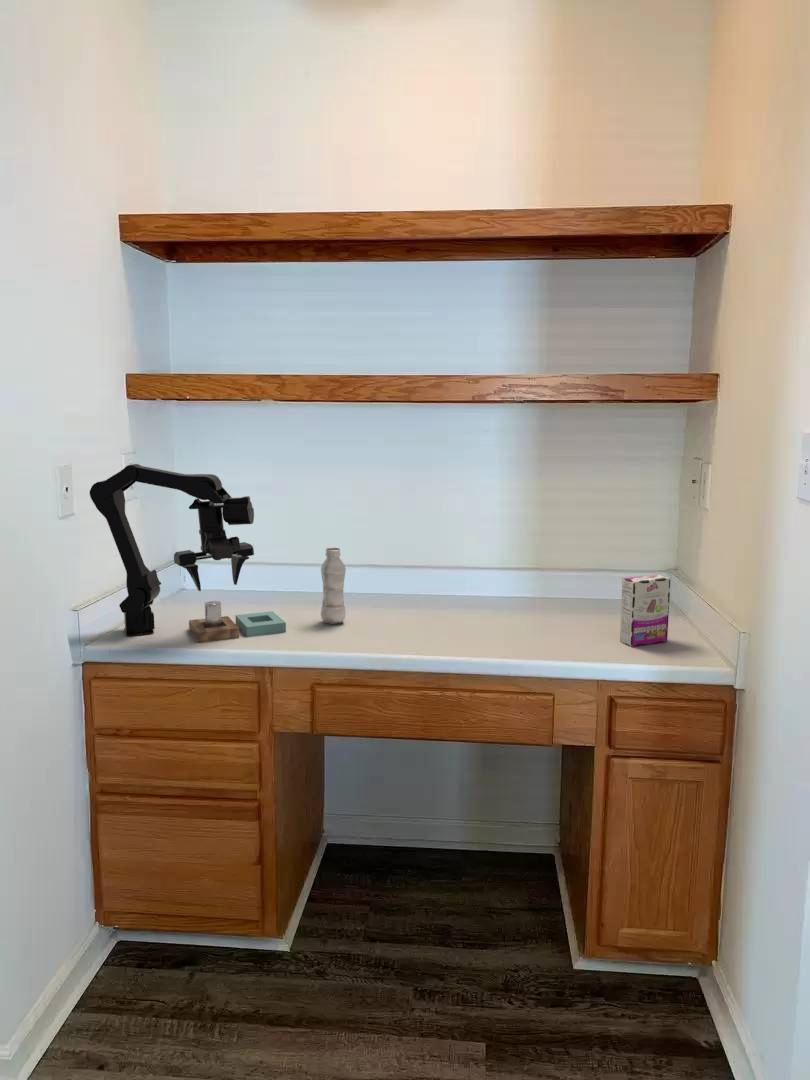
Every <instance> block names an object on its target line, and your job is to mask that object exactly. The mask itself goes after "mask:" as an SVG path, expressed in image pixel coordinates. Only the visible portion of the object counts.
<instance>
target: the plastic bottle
mask: <svg viewBox="0 0 810 1080" xmlns="http://www.w3.org/2000/svg"><path fill="white" fill-rule="evenodd" d="M325 557H326V559H325V560H324V561H323V562H322V564H321V567H320V573H321V580H322V602H321V604H322V605H321V609H320V617H321V618H320V619H321V620H322V622H323V623H325V624H332V623H334V624H340V623H343V622H344V620H345V619H346V613H347V611H346V605H345V597H344V588H345V587H344V586H345V578H346V577H345V576H346V569H347V568H346V565H345V563H344V562H343V561H342V559H341V548H338V547H326V549H325Z"/></svg>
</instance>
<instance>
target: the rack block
mask: <svg viewBox="0 0 810 1080" xmlns="http://www.w3.org/2000/svg"><path fill="white" fill-rule="evenodd" d="M235 624H236V625H237V626H238V627H239V631H241V632H242V633H243V634H244V635H245V636H246V637H248V638H249V637H255V636H264V635H266V636H267V635H272V634H280V633H281V634H282V633H286V632H287V624H286V621H284V619H282V617H280V616H279V615H277V614H276V613H275V612H274V611H261V612H260V611H259V612H254V613H253V612H251V613H241V614H236V615H235Z"/></svg>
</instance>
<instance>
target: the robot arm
mask: <svg viewBox="0 0 810 1080" xmlns="http://www.w3.org/2000/svg"><path fill="white" fill-rule="evenodd" d="M136 482H137V483H141V484H146V485H152V486H157V487H162V488H167V489H172V490H179V491H180V492H183V493H185V494H187V495H188V496H191V497H194V498H195V499H194V500H193V501H192V503H191V504H190V505H189V506H188V509H189V510H197V514H198V524H199V529H198V534H199V535H200V544H201V545H200V551H198V552H195V551H192V550H190V549H189V550H188V549H187V550H181V551H175V553H174V554H173V562H174V564H175V565H177V566H179V567H182V569H183V568H184V569H185V570H186V571H187V572H188V574H189V575H190V577H191V580H192V581H193V583H194V585H195V587H196V589H197V591H198V592H201V591H202V587H201V580H200V575H199V565H198V564H196V563H197V561H201V560H206V559H212V560H214V561H221V560H224V559H228V560H229V559H230V562H231V563H230V565H231V574H232V582H233V585H235V586H237V585H238V580H239V578H240V577H239V576H240V573H241V570H242V567H243V565H244V563H245V562H246V560H250V557H251V556H254V555H255V551H254V546H253V544H251V543H248V542H245V541H244V542H243V541H242V542H240V538H239V536H230V537H229V538H228V537H227V533H226V530H225V529H224V522H225V523H227V524H228V525H229V526H236V525H237V526H240V525H253V523H254V520H255V511H254V510H255V509H254V507H253V504H252V502H251V496H249V495H248V496H242V497H232V496H231V495H230V494H229V493H228V491H227V490H226V489H225V488H224V487H223V484H222V480H221V479H220V478H219V476H217V475H216V474H213V473H210V474H209V473H193V474H191V473H190V474H188V473H187V474H185V473H179V472H175V471H171V470H170V471H169V470H164V469H159V468H154V467H149V466H143V465H141V464H138V463H133V464H128V465H126V466H124V468H123V469H121V470H120V471H119V472H117V473H115V474H113V475H112V476H110V477H108V478H107V479H104V480H101V481H97V482H95V483H93V484H92V485H91V488H90V489H89V498H90V499H91V501H92V502H93V504H94V506H95V508H96V510H97V511H98V512H99V513H100V514H101V515H102V516H103V517H104V518H105V519H106V522H107V524H108V526H109V530H110V533H111V535H112V538H113V540H114V543H115V545H116V546H115V547H116V548H117V550H118V553H119V556H120V558H121V561H122V564H123V566H124V569H125V572H126V583H125V584H126V590H127V596H126V597H125V599H122V600H123V601H121V602H120V603H119V608H120V611H121V613H123V614H124V615H123V616H124V628H123V632H124V633H125V635H126V637H133V636H144V635H149V634H150V635H151V634H152V635H153V634H154V633H155V632H154V630H155V628H156V627H155V613H154V612H153V611H152V608H151V606H152V605H153V603H154V600H155V599H156V598H157V597H159V595H160V592H161V586H160V585H162V582H161V581H160V580H159V577H158V572H157V570H156V569H153V570H149V568H148V567H147V566H146V564H145V563H144V560H143V557H142V554H141V552H140V548H139V546H138V544H137V541H136V538H135V536H134V533H133V531H132V528H131V525H130V522H129V519H128V517H127V514H126V497H125V491H127V489H129V488H131V487H132V486H133V485H134V484H135V483H136Z"/></svg>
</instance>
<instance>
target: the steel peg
mask: <svg viewBox="0 0 810 1080" xmlns="http://www.w3.org/2000/svg"><path fill="white" fill-rule="evenodd" d="M221 617H222V602H221V601H217V600H210V601H206V602H204V619H205V628H211V627H220V626H222V618H221Z"/></svg>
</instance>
